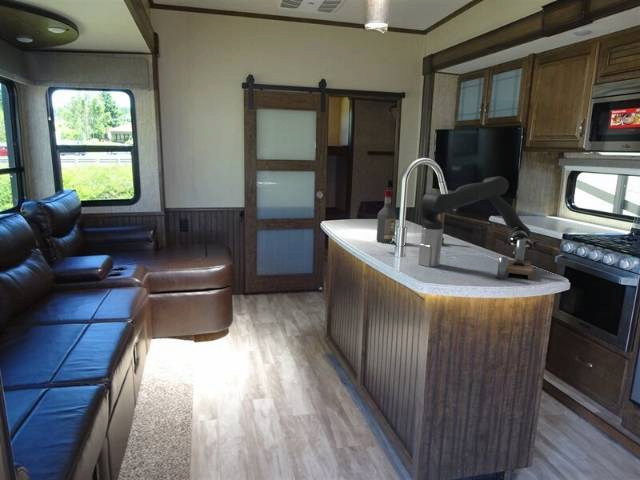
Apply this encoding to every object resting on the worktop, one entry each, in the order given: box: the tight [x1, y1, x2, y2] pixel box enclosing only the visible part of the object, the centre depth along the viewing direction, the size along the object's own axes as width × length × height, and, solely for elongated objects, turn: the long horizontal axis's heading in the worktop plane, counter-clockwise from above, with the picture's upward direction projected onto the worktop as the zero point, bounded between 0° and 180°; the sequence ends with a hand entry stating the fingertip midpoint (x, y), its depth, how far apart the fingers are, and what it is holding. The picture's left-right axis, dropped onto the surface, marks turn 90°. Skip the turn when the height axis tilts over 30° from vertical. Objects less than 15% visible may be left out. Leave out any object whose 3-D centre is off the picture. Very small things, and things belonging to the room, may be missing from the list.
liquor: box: [376, 189, 397, 244], centre depth 258 cm, size 9×9×30 cm
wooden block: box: [437, 212, 446, 245], centre depth 258 cm, size 4×11×18 cm, turn 113°
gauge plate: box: [506, 259, 533, 281], centre depth 197 cm, size 18×10×4 cm, turn 157°
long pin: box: [513, 239, 526, 275], centre depth 196 cm, size 4×4×15 cm
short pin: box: [496, 256, 509, 281], centre depth 187 cm, size 4×4×9 cm
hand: (520, 244), depth 205 cm, fingers open, 8 cm apart
